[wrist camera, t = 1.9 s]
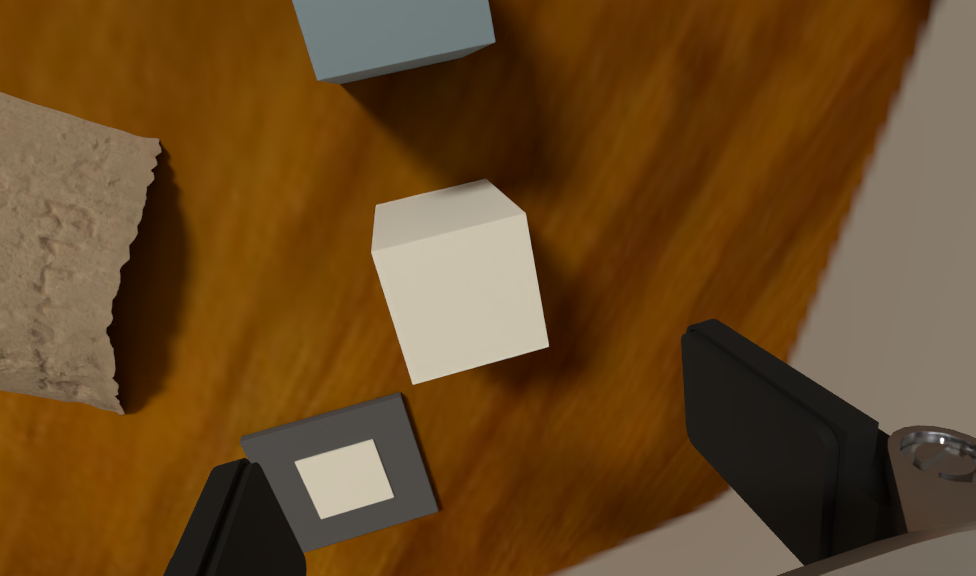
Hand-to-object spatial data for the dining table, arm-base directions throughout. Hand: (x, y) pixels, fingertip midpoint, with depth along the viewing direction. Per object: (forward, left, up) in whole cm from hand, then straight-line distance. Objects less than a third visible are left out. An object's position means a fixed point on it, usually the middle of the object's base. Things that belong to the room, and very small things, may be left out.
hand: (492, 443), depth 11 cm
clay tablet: (+16, -4, -14) cm, 22 cm away
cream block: (-1, 0, -14) cm, 14 cm away
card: (+7, +11, -14) cm, 19 cm away
